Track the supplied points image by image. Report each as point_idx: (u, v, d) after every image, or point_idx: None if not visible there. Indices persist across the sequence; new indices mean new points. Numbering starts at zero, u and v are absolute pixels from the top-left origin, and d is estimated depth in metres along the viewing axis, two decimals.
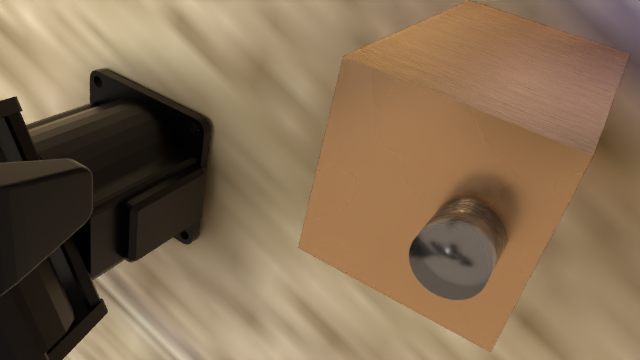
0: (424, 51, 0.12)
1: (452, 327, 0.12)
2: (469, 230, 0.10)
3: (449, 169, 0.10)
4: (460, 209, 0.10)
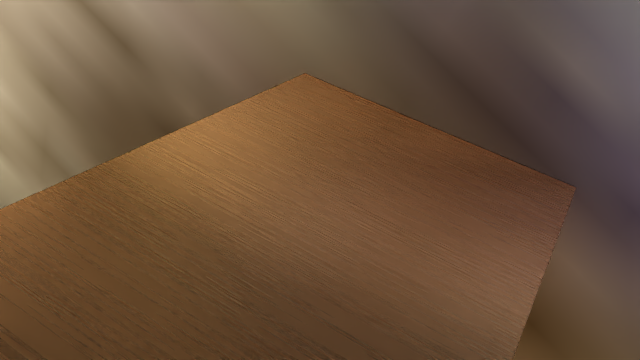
0: (12, 285, 0.05)
1: None
2: None
3: None
4: None
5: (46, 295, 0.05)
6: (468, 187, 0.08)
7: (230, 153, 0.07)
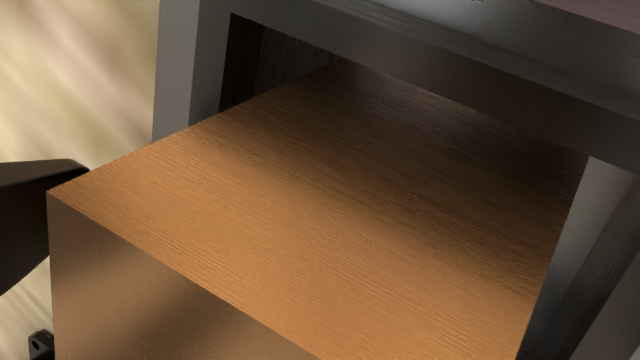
0: (235, 160, 0.07)
1: None
2: None
3: None
4: None
5: (258, 167, 0.07)
6: None
7: (342, 93, 0.09)
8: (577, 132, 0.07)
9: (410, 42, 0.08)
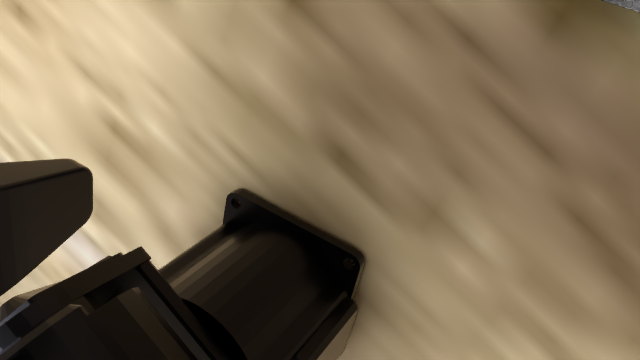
0: None
1: None
2: None
3: None
4: None
5: None
6: None
7: None
8: None
9: None
